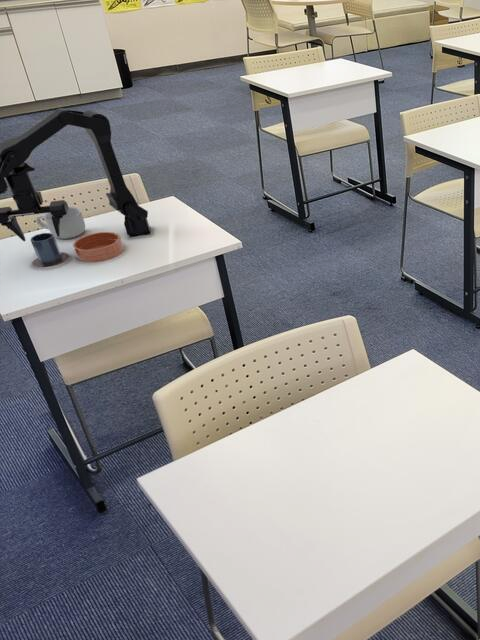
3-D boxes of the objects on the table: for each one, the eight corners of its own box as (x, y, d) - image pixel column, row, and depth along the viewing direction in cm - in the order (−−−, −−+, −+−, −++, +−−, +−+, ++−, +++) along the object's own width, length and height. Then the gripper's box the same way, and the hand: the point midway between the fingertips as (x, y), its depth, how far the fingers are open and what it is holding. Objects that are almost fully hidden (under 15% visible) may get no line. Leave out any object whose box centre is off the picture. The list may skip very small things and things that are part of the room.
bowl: (125, 242, 224) (121, 229, 221) (123, 259, 214) (118, 246, 211) (80, 248, 220) (75, 235, 218) (75, 266, 210) (70, 253, 207)
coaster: (71, 252, 218) (70, 250, 218) (67, 265, 211) (67, 264, 210) (35, 257, 215) (35, 255, 215) (30, 271, 208) (30, 269, 207)
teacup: (95, 229, 232) (87, 206, 227) (76, 243, 223) (68, 220, 219) (55, 228, 233) (47, 205, 229) (35, 242, 224) (26, 218, 220)
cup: (63, 253, 216) (54, 231, 212) (60, 262, 211) (51, 239, 207) (41, 256, 214) (32, 234, 210) (38, 265, 209) (29, 243, 205)
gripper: (61, 175, 208) (78, 223, 217) (-10, 183, 203) (11, 232, 212) (56, 188, 200) (75, 237, 209) (-18, 196, 195) (4, 247, 204)
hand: (41, 238), depth 208 cm, fingers open, 9 cm apart
